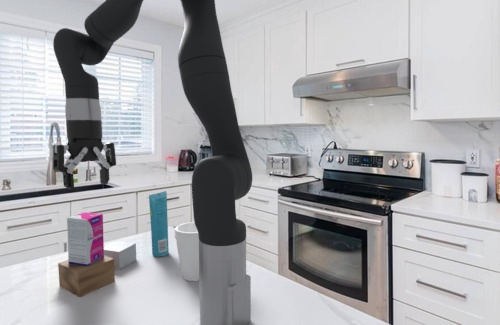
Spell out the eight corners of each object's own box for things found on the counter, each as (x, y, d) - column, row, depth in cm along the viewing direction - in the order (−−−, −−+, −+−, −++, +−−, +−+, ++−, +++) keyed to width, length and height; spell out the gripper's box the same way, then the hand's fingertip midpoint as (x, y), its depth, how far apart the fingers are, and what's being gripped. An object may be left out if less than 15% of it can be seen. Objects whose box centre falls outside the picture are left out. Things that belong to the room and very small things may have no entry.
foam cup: (168, 277, 83) (167, 228, 81) (194, 264, 90) (193, 220, 89) (194, 287, 77) (193, 235, 76) (219, 273, 85) (219, 226, 83)
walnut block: (115, 281, 80) (113, 258, 80) (79, 297, 73) (78, 272, 72) (94, 272, 85) (93, 251, 85) (59, 286, 78) (58, 263, 77)
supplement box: (88, 266, 75) (85, 219, 74) (67, 264, 77) (65, 217, 75) (105, 257, 81) (103, 213, 79) (86, 255, 82) (83, 211, 81)
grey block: (136, 259, 94) (135, 243, 93) (119, 269, 87) (119, 251, 87) (117, 256, 96) (116, 240, 96) (99, 266, 89) (98, 249, 89)
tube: (161, 248, 102) (159, 190, 100) (173, 250, 101) (172, 191, 99) (146, 257, 95) (143, 194, 94) (159, 259, 94) (157, 195, 92)
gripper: (61, 117, 67) (66, 192, 69) (120, 119, 79) (123, 183, 81) (43, 118, 71) (48, 189, 73) (102, 120, 83) (105, 181, 85)
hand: (88, 186), depth 77 cm, fingers open, 8 cm apart
